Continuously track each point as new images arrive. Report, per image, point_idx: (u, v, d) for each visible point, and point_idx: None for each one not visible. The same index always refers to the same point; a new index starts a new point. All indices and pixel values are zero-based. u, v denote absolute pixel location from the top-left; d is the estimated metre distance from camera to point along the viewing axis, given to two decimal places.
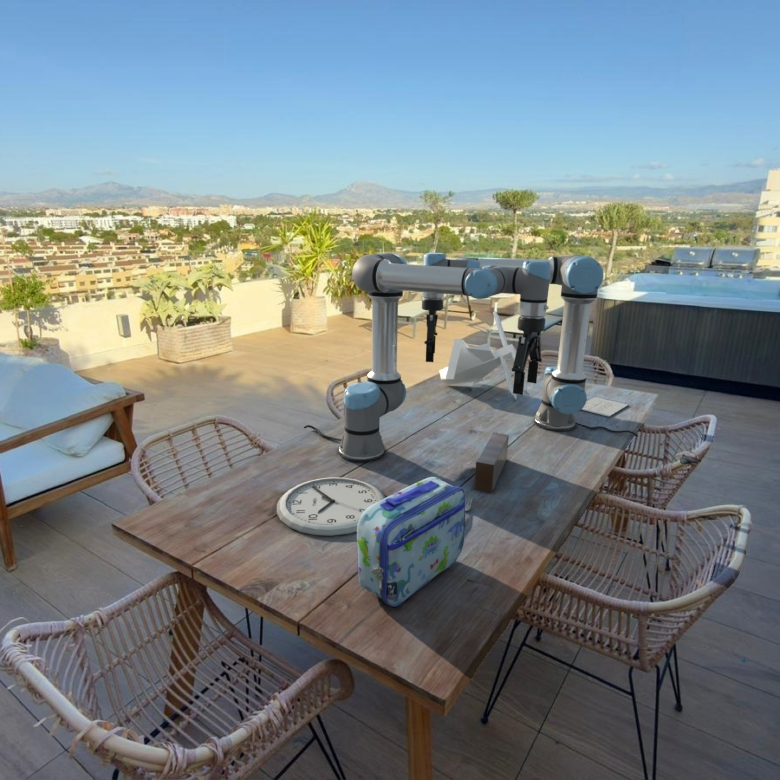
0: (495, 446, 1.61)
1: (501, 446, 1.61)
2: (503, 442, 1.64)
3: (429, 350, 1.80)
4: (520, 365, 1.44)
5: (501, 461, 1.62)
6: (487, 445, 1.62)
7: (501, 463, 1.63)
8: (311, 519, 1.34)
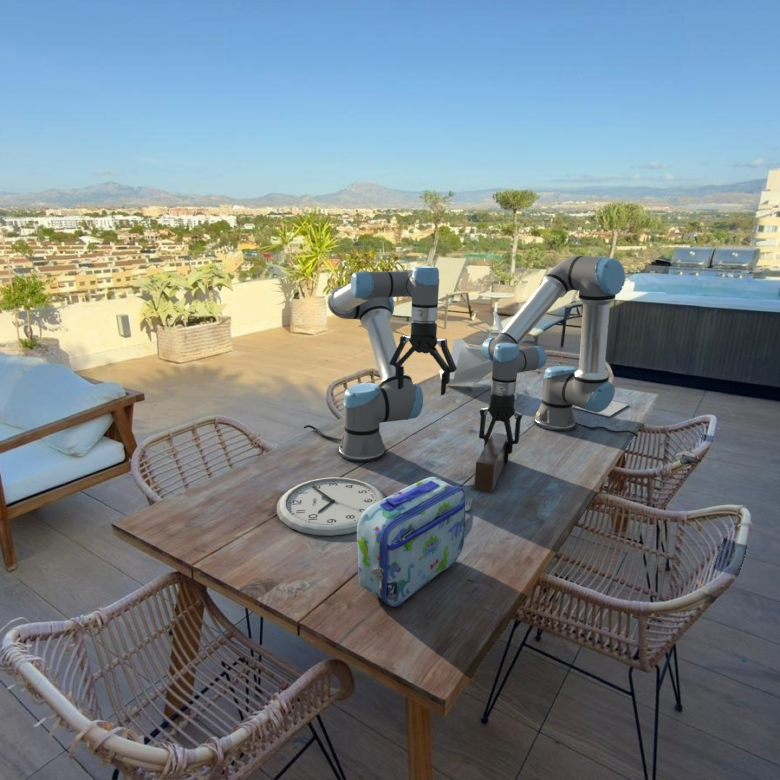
0: (495, 446, 1.61)
1: (501, 446, 1.61)
2: (503, 442, 1.64)
3: None
4: None
5: (501, 461, 1.62)
6: (487, 445, 1.62)
7: (501, 463, 1.63)
8: (311, 519, 1.34)
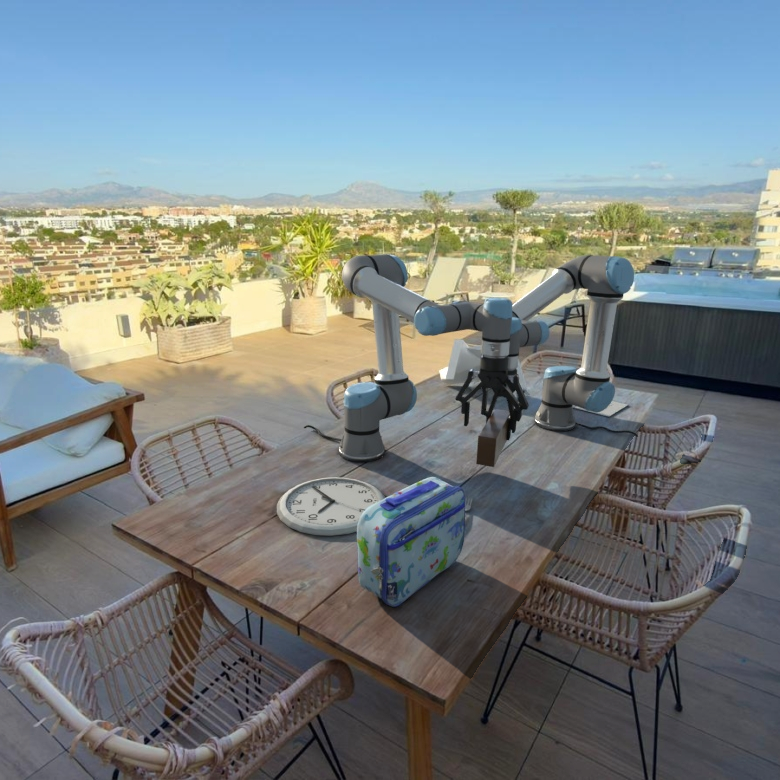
0: (497, 421, 1.59)
1: (503, 421, 1.59)
2: (505, 418, 1.62)
3: None
4: None
5: (503, 437, 1.60)
6: (489, 420, 1.59)
7: (503, 439, 1.60)
8: (311, 519, 1.34)
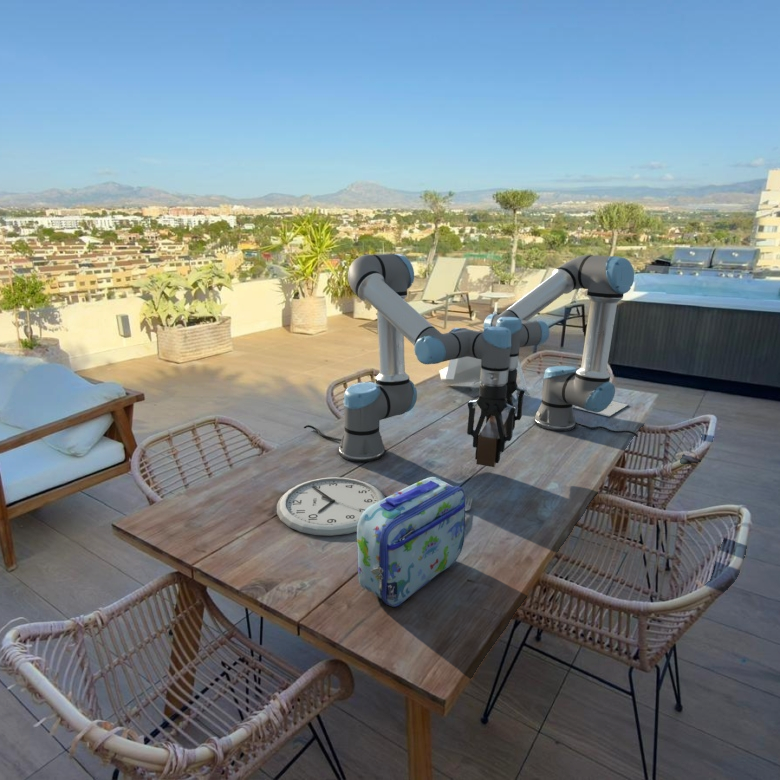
0: None
1: (503, 421, 1.59)
2: (505, 418, 1.62)
3: (514, 426, 1.66)
4: None
5: None
6: (489, 420, 1.59)
7: None
8: (311, 519, 1.34)
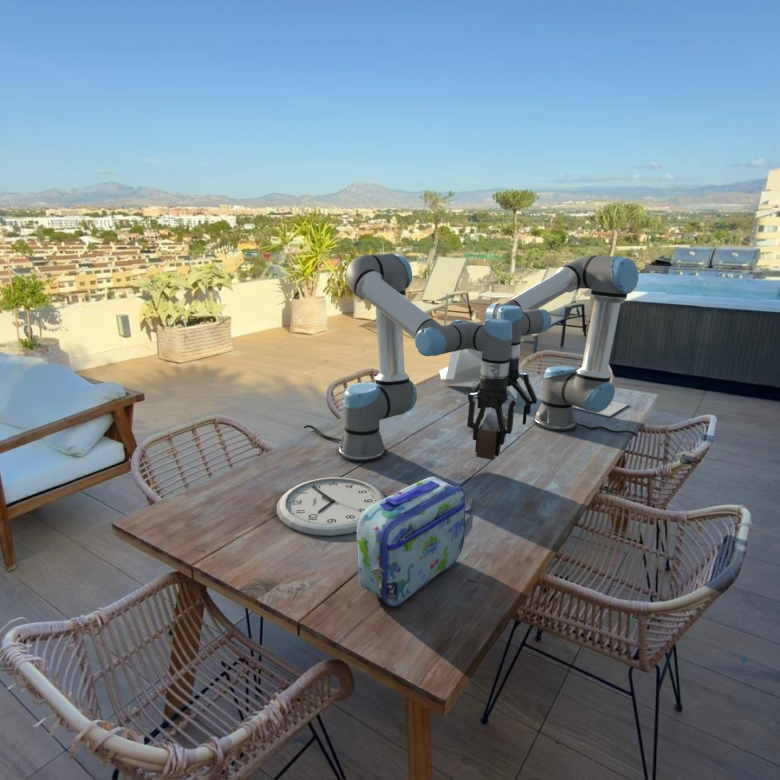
0: None
1: (504, 415, 1.58)
2: (505, 411, 1.61)
3: (530, 410, 1.64)
4: None
5: None
6: (489, 414, 1.59)
7: None
8: (311, 519, 1.34)
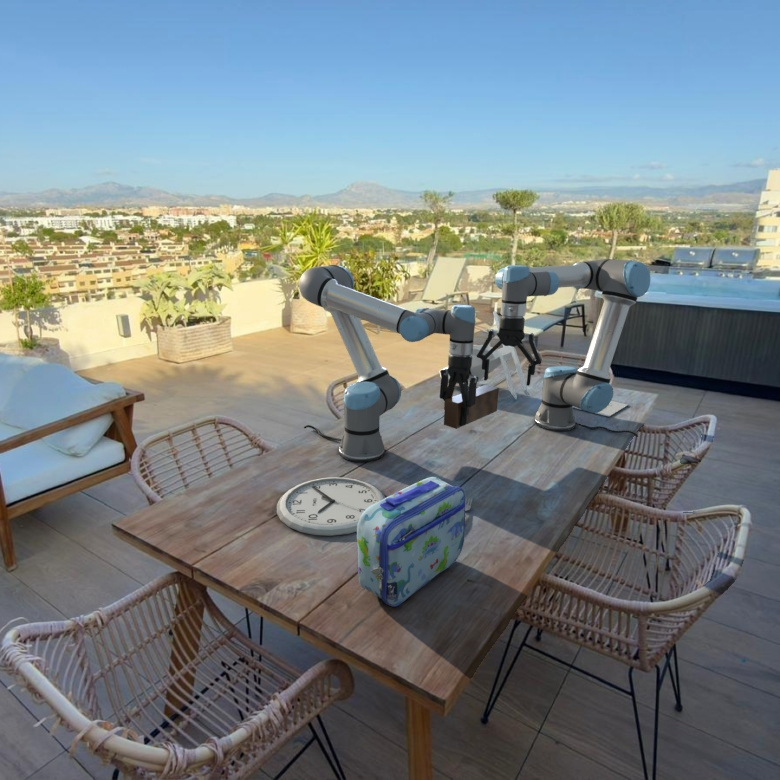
0: (476, 392, 1.78)
1: (481, 393, 1.77)
2: (487, 391, 1.79)
3: (534, 371, 1.65)
4: None
5: (480, 407, 1.78)
6: None
7: (481, 409, 1.78)
8: (311, 519, 1.34)
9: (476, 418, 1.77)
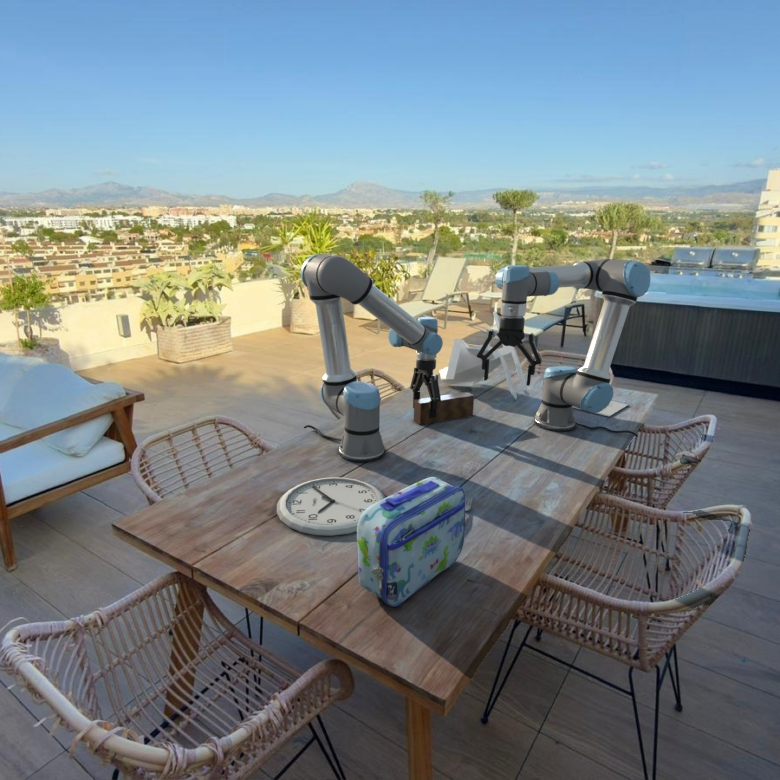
0: (447, 397, 2.07)
1: (451, 398, 2.06)
2: (458, 397, 2.07)
3: (534, 371, 1.65)
4: None
5: (450, 410, 2.07)
6: (443, 395, 2.09)
7: (451, 412, 2.07)
8: (311, 519, 1.34)
9: (445, 419, 2.07)
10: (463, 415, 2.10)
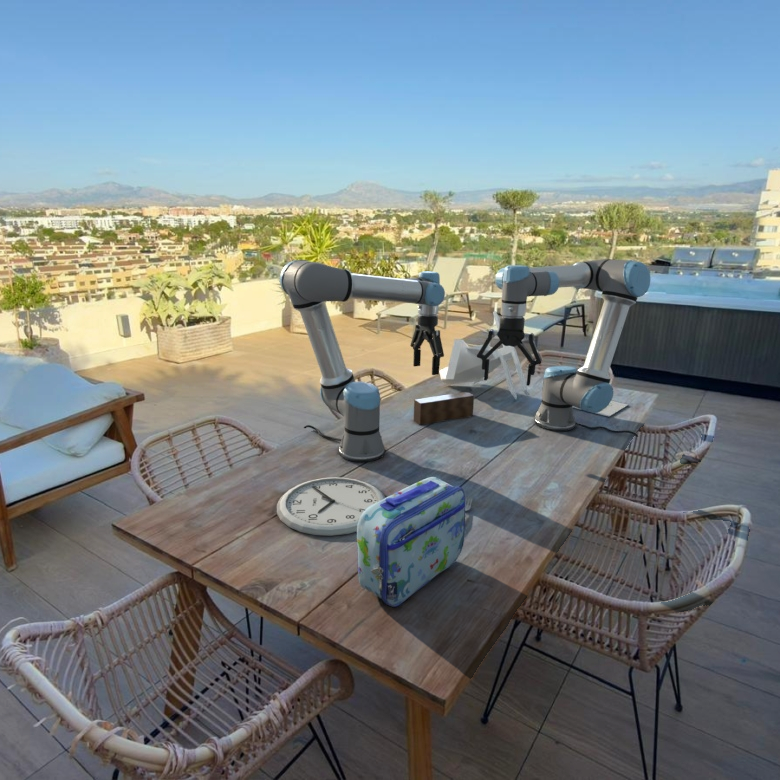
0: (447, 397, 2.07)
1: (451, 398, 2.06)
2: (458, 397, 2.07)
3: (534, 371, 1.65)
4: None
5: (450, 410, 2.07)
6: (443, 395, 2.09)
7: (451, 412, 2.07)
8: (311, 519, 1.34)
9: (445, 419, 2.07)
10: (463, 415, 2.10)
